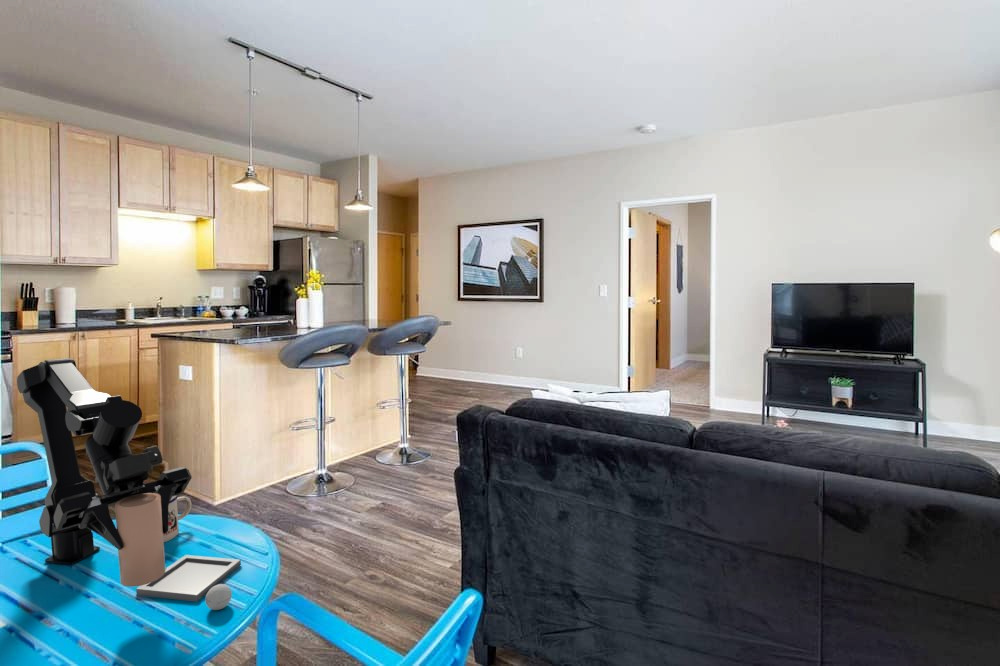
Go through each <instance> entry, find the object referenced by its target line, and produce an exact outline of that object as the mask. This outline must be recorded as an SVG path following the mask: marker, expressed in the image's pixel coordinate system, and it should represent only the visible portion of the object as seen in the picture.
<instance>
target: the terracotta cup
mask: <svg viewBox="0 0 1000 666" xmlns="http://www.w3.org/2000/svg"><path fill="white" fill-rule="evenodd" d="M114 511H115V527H116V529H117V531H118V533H119V535H120V537H121V540H122V543H123V548H122V549H121V550H118V549H117V551H118V565H119V577H120V578H119V580H120V585H121V586H124V587H127V588H128V587H130V588H135V587H140V586H141V585H145V584H148V583H151V582H153V581H155V580H157V579H159V578H160V577H162V576H163V575H164V573H165V569H166V562H165V545H164V543H165V542H164V541H163V526H162V510H161V496H160V495H159V494H156V493H143V494H137V495H132V496H129V497H126V498H123V499H121V500H119V501H118V502H116V504H115V505H114Z"/></svg>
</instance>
